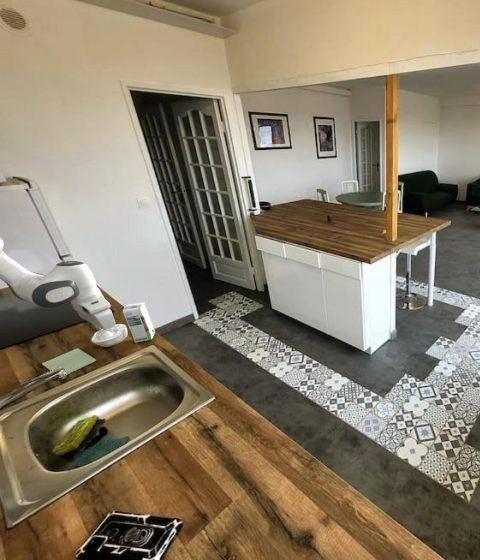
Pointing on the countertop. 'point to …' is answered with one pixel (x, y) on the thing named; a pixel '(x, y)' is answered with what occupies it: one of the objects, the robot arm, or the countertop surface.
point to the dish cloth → (70, 361)
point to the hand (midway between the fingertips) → (102, 331)
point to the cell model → (110, 336)
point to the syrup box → (139, 322)
